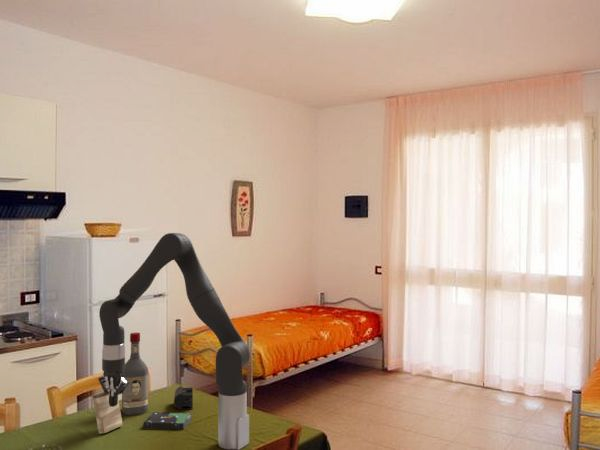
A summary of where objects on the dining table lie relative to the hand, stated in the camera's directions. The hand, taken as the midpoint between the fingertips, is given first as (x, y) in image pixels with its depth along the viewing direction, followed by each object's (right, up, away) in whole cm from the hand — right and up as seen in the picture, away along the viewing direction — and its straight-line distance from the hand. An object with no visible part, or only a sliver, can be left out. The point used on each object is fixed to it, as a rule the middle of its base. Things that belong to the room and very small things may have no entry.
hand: (113, 405), depth 182 cm
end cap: (+19, -9, +25) cm, 33 cm away
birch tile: (-1, -9, +1) cm, 9 cm away
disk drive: (+17, -10, +7) cm, 21 cm away
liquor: (+1, -9, +20) cm, 22 cm away
